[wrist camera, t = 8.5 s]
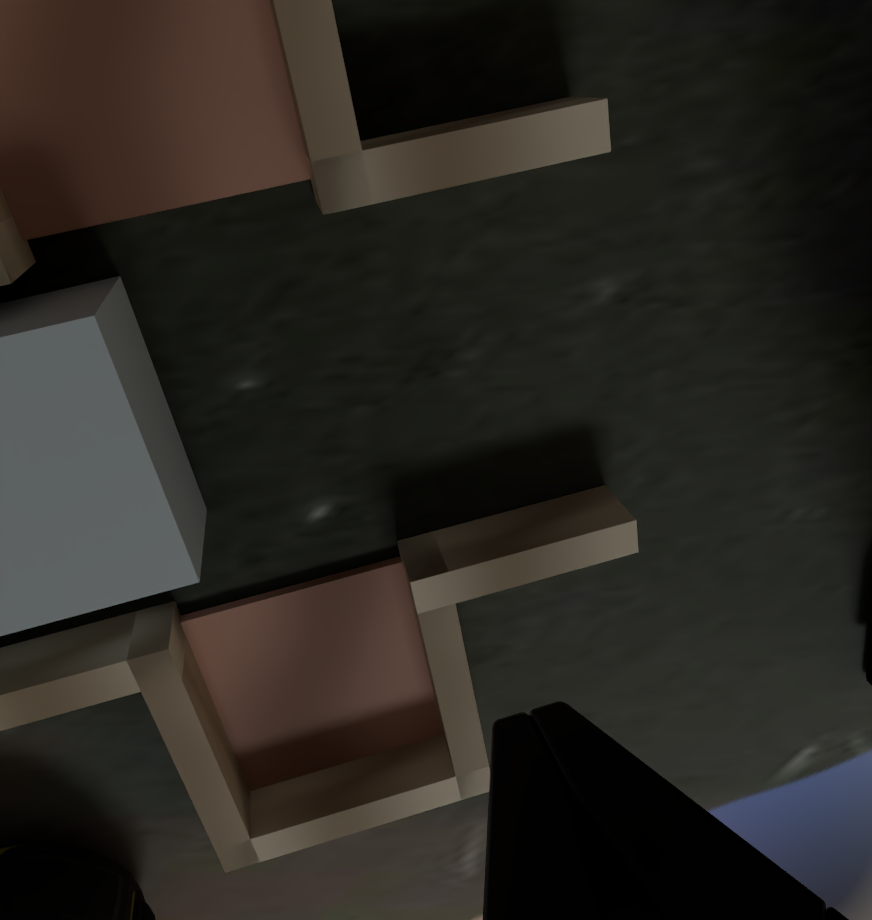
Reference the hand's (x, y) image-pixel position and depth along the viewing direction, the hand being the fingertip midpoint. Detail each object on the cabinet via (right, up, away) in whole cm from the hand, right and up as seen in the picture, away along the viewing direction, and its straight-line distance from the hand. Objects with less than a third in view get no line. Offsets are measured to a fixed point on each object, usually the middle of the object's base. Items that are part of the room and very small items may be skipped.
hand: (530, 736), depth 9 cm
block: (-10, +4, +9) cm, 14 cm away
